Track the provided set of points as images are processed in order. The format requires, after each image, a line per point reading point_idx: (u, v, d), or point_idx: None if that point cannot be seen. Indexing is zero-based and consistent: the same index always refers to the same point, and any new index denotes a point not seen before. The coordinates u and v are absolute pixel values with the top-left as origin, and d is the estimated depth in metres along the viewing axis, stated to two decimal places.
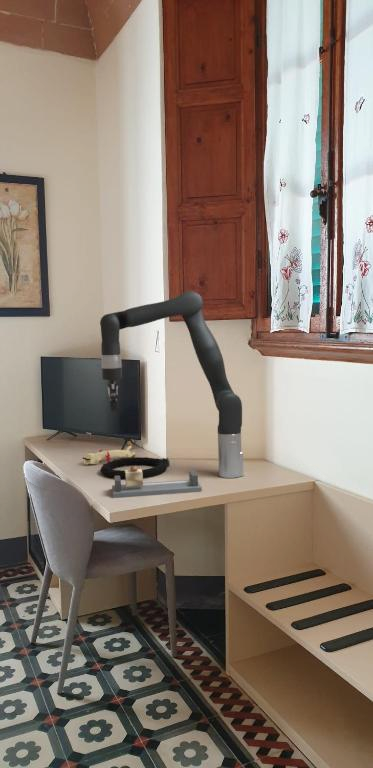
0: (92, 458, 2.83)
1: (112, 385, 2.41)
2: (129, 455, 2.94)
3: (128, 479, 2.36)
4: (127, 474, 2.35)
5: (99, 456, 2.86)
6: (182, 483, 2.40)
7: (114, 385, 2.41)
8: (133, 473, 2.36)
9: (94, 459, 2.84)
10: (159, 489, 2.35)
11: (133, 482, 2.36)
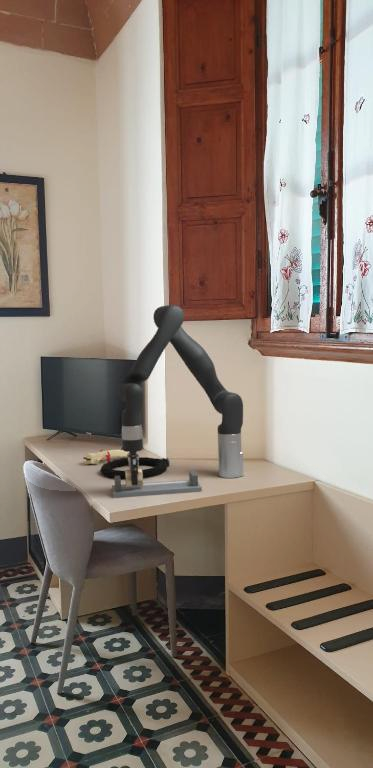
0: (92, 458, 2.83)
1: (133, 461, 2.31)
2: None
3: (128, 479, 2.36)
4: (127, 474, 2.35)
5: (99, 456, 2.87)
6: (182, 483, 2.40)
7: (135, 461, 2.31)
8: None
9: (94, 459, 2.84)
10: (159, 489, 2.35)
11: None
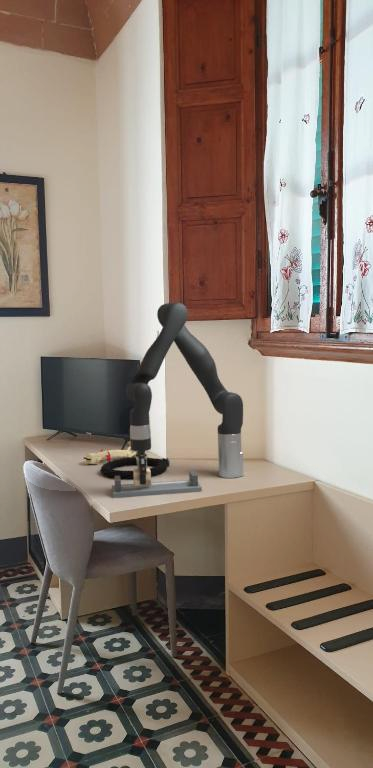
0: (93, 458, 2.83)
1: (142, 461, 2.31)
2: (130, 455, 2.94)
3: (136, 479, 2.36)
4: (135, 473, 2.36)
5: (100, 456, 2.87)
6: (182, 483, 2.40)
7: (144, 461, 2.31)
8: None
9: (95, 459, 2.84)
10: (159, 489, 2.35)
11: None
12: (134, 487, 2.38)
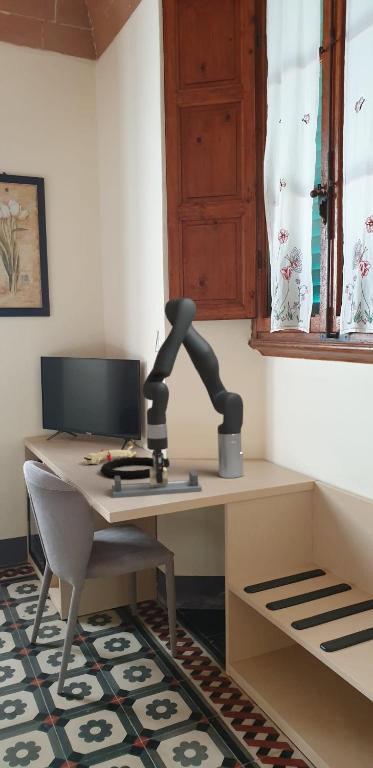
0: (93, 458, 2.83)
1: (159, 459, 2.32)
2: (130, 455, 2.94)
3: (153, 477, 2.37)
4: (152, 472, 2.37)
5: (100, 456, 2.87)
6: (182, 483, 2.40)
7: (161, 459, 2.32)
8: None
9: (95, 459, 2.84)
10: (159, 489, 2.35)
11: None
12: (134, 487, 2.38)
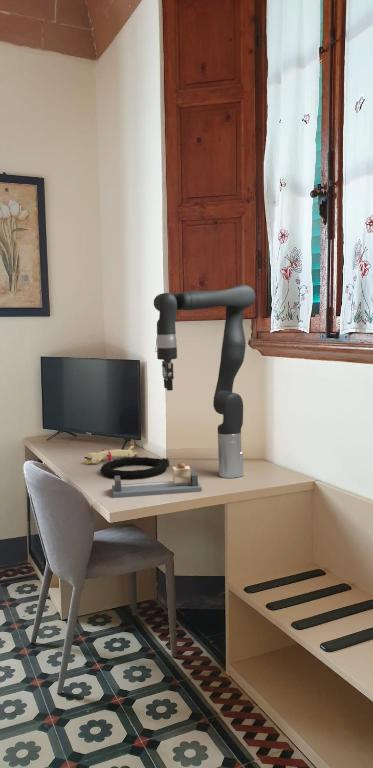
0: (93, 457, 2.84)
1: (169, 364, 2.39)
2: (131, 455, 2.95)
3: (176, 476, 2.38)
4: (175, 471, 2.38)
5: (100, 455, 2.88)
6: (182, 483, 2.40)
7: (171, 364, 2.39)
8: (181, 470, 2.38)
9: (95, 458, 2.85)
10: (159, 489, 2.35)
11: (182, 478, 2.38)
12: (134, 487, 2.38)
